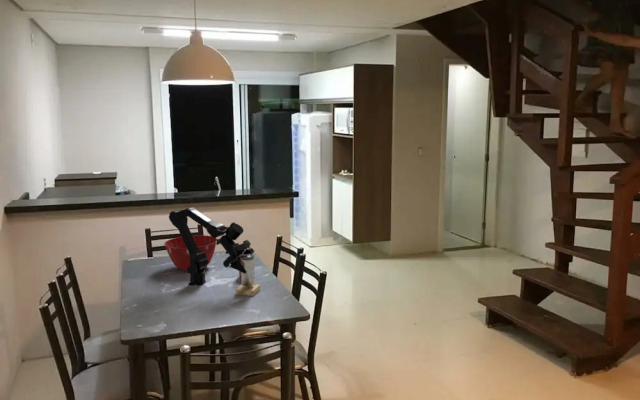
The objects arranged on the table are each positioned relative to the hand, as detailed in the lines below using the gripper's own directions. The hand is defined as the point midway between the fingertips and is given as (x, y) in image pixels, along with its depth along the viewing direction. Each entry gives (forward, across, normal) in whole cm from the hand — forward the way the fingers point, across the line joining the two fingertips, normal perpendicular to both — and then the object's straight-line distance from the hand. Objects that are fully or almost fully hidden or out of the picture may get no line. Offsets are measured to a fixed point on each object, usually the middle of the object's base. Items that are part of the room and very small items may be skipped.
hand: (249, 271), depth 246 cm
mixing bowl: (-29, +20, +45) cm, 57 cm away
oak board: (+6, 0, +8) cm, 10 cm away
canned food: (-3, +20, +19) cm, 27 cm away
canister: (+4, 0, +6) cm, 7 cm away
